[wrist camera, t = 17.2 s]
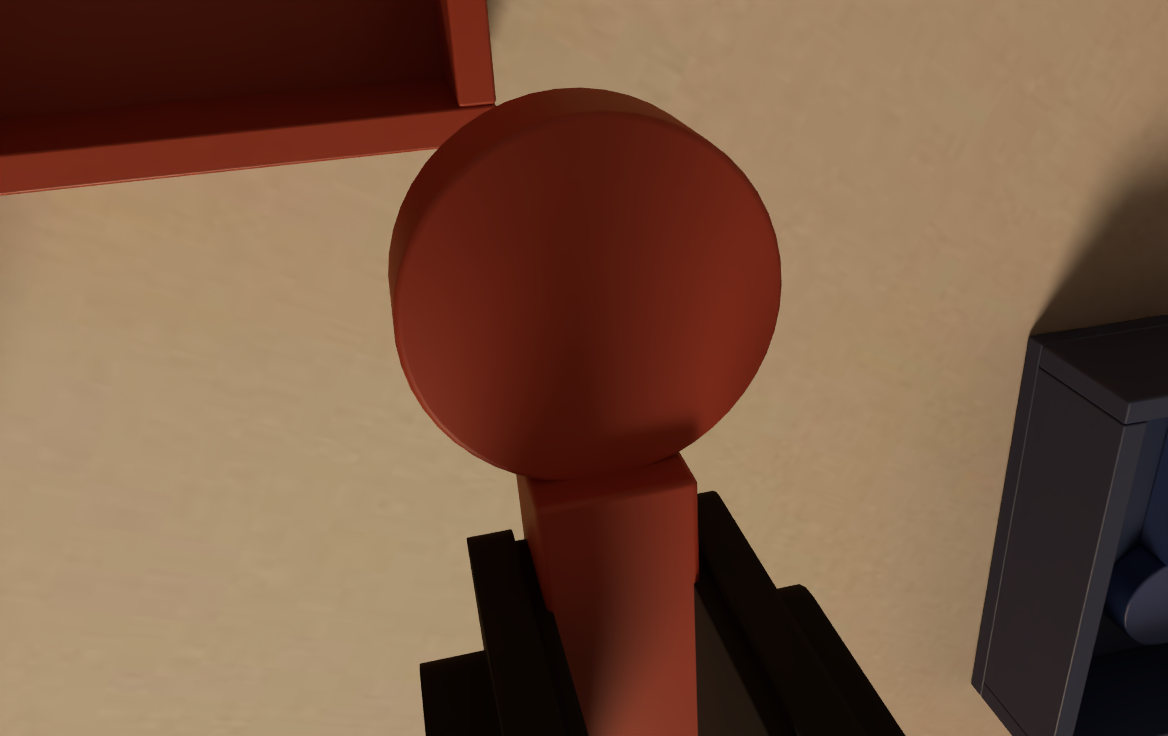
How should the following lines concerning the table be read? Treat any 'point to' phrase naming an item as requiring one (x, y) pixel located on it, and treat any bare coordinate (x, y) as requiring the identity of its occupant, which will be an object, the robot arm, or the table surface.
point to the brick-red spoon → (591, 359)
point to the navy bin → (1076, 537)
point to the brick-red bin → (229, 84)
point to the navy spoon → (1145, 572)
